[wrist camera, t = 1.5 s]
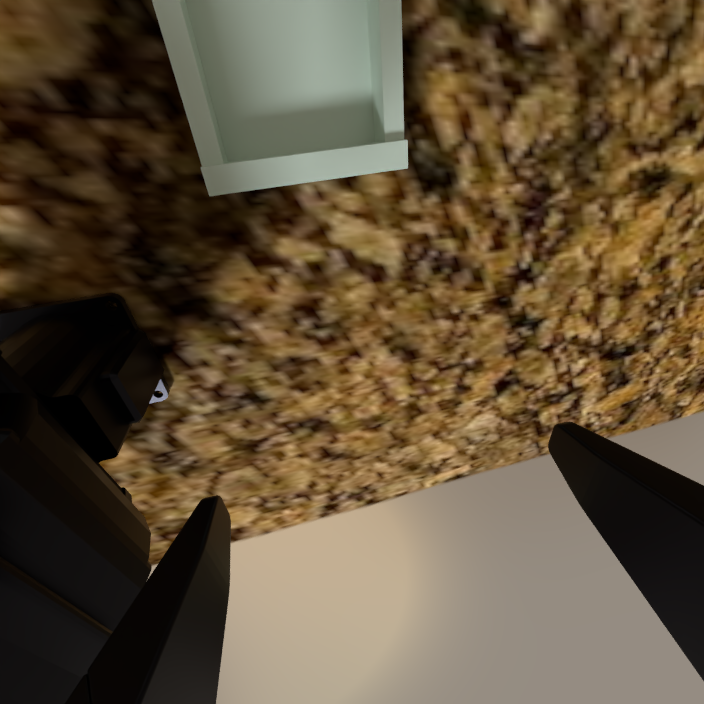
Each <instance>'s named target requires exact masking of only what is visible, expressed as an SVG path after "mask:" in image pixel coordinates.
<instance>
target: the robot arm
mask: <svg viewBox="0 0 704 704" xmlns="http://www.w3.org/2000/svg"><path fill="white" fill-rule="evenodd" d="M108 301H113V302H115V303H116V304H117V307H112V306H110V305H109V303H108ZM163 372H164V369H163V367H162V365H161V363H160V361H159V359H158V357H157V355H156V353H155V351H154V349H153V347H152V345H151V343H150V341H149V339H148V337H147V335H146V333H145V332H143V331H142V330H140V329H139V328H138V326H137V324H136V322H135V320H134V318H133V316H132V314H131V312H130V310H129V308H128V306H127V304H126V302H125V300H124V299H123V297H121V296H120V295H118V294H115V293H106V294H100V295H94V296H88V297H82V298H76V299H70V300H64V301H59V302H53V303H47V304H41V305H35V306H29V307H23V308H17V309H11V310H5V311H0V704H216V697H217V689H218V680H219V672H220V664H221V656H222V647H223V639H224V630H225V623H226V614H227V606H228V597H229V586H230V536H231V520H230V515H229V512H228V510H227V508H226V506H225V504H224V502H223V500H222V498H221V497H220V496H218V495H216V496H211V497H207V498H204V499H202V500H201V501H200V502H199V504H198V505H197V507H196V508H195V510H194V511H193V513H192V514H191V516H190V517H189V519H188V520H187V522H186V523H185V525H184V526H183V528H182V529H181V531H180V532H179V534H178V535H177V537H176V538H175V540H174V541H173V543H172V544H171V546H170V547H169V549H168V550H167V552H166V553H165V555H164V556H163V558H162V559H161V561H160V562H159V564H158V565H157V567H156V568H155V570H154V571H153V573H152V574H151V576H150V577H149V579H148V576H149V574H150V571H151V564H150V562H149V561H148V559H149V551H150V537H151V533H150V530H149V527H148V525H147V522H146V520H145V517H144V516H143V515H142V514H141V513H140V512H139V511H138V509H137V508H136V507H135V506H134V505H133V504H132V497H131V494H130V493H129V492H128V491H127V490H126V489H125V488H121V487H120V486H119V485H118V484H117V483H116V482H115V481H114V480H113V479H112V477H111V476H110V475H109V474H108V473H107V472H106V471H105V470H104V469H103V468H102V466H101V465H100V464H99V462H100V461H103V460H107V459H112V458H115V457H117V455H118V453H119V451H120V449H121V447H122V445H123V443H124V441H125V439H126V436H127V434H128V432H129V430H130V428H131V426H132V424H135V423H139V422H140V421H141V419H142V418H143V416H144V414H145V412H146V409H147V407H148V405H149V403H154V402H159V401H163V400H165V399H166V398H167V397H168V394H169V391H170V390H169V387H168V385H167V383H166V381H165V379H164V377H163V375H162V374H163ZM156 391H161V392H162V393H157V392H156ZM548 448H549V452H550V454H551V456H552V458H553V459H554V461H555V463H556V464H557V466H558V468H559V470H560V471H561V473H562V475H563V477H564V478H565V480H566V482H567V484H568V485H569V487H570V489H571V491H572V492H573V494H574V496H575V498H576V499H577V501H578V502H579V504H580V506H581V507H582V509H583V510H584V511H585V513H586V515H587V516H588V517H589V519H590V520H591V522H592V523H593V525H594V526H595V527H596V529H597V530H598V532H599V533H600V534H601V536H602V537H603V539H604V540H605V541H606V543H607V544H608V546H609V547H610V549H611V550H612V551H613V553H614V554H615V556H616V557H617V559H618V560H619V561H620V563H621V564H622V566H623V567H624V568H625V570H626V571H627V573H628V574H629V576H630V577H631V579H632V580H633V581H634V583H635V584H636V586H637V587H638V588H639V590H640V591H641V593H642V594H643V596H644V597H645V598H646V600H647V601H648V603H649V604H650V605H651V607H652V608H653V610H654V611H655V613H656V614H657V615H658V617H659V618H660V620H661V621H662V623H663V624H664V625H665V627H666V628H667V630H668V631H669V632H670V634H671V635H672V637H673V638H674V640H675V641H676V642H677V644H678V645H679V647H680V648H681V650H682V651H683V652H684V654H685V655H686V657H687V658H688V659H689V661H690V662H691V663H692V665H693V666H694V668H695V669H696V671H697V672H698V674H699V675H700V677H701V678H702V679H703V681H704V486H703V485H701V484H699V483H697V482H695V481H693V480H691V479H689V478H687V477H685V476H683V475H681V474H679V473H676V472H675V471H672V470H670V469H668V468H666V467H664V466H662V465H660V464H658V463H656V462H654V461H652V460H650V459H648V458H646V457H644V456H641V455H639V454H637V453H635V452H633V451H631V450H629V449H627V448H625V447H623V446H621V445H619V444H617V443H614V442H612V441H610V440H608V439H606V438H604V437H602V436H600V435H598V434H596V433H594V432H592V431H590V430H588V429H586V428H584V427H581V426H579V425H577V424H575V423H573V422H564V423H559V424H556V425H555V426H554V428H553V431H552V434H551V437H550V440H549V444H548ZM147 579H148V580H147ZM146 581H147V582H146Z"/></svg>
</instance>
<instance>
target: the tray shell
mask: <svg viewBox="0 0 704 704" xmlns="http://www.w3.org/2000/svg"><path fill="white" fill-rule="evenodd" d="M152 2H153V6H154V9H155V12H156V16H157V19H158V22H159V26H160V29H161V32H162V36H163V39H164V42H165V45H166V49H167V52H168V55H169V59H170V62H171V65H172V69H173V72H174V75H175V79H176V82H177V85H178V88H179V92H180V95H181V98H182V102H183V105H184V108H185V112H186V115H187V118H188V122H189V125H190V128H191V131H192V135H193V138H194V141H195V145H196V148H197V151H198V155H199V158H200V161H201V165H202V167H200V168H201V171H202V174H203V177H204V181H205V184H206V187H207V191H208V194H209V196H216V195H223V194H230V193H237V192H244V191H251V190H258V189H265V188H273V187H280V186H287V185H294V184H301V183H308V182H315V181H322V180H329V179H336V178H343V177H350V176H357V175H364V174H371V173H378V172H385V171H392V170H399V169H406V168H408V140H404V105H403V55H402V5H401V0H152Z"/></svg>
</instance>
